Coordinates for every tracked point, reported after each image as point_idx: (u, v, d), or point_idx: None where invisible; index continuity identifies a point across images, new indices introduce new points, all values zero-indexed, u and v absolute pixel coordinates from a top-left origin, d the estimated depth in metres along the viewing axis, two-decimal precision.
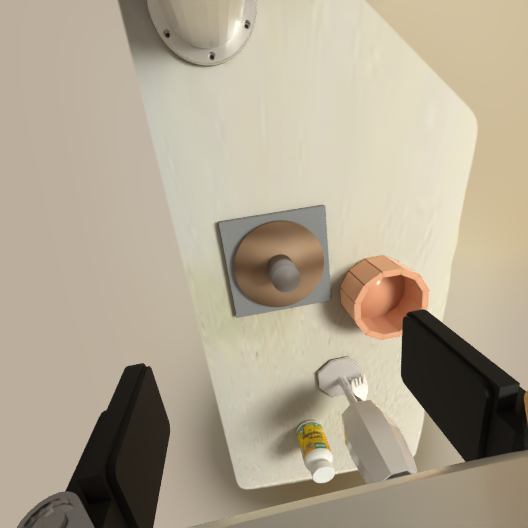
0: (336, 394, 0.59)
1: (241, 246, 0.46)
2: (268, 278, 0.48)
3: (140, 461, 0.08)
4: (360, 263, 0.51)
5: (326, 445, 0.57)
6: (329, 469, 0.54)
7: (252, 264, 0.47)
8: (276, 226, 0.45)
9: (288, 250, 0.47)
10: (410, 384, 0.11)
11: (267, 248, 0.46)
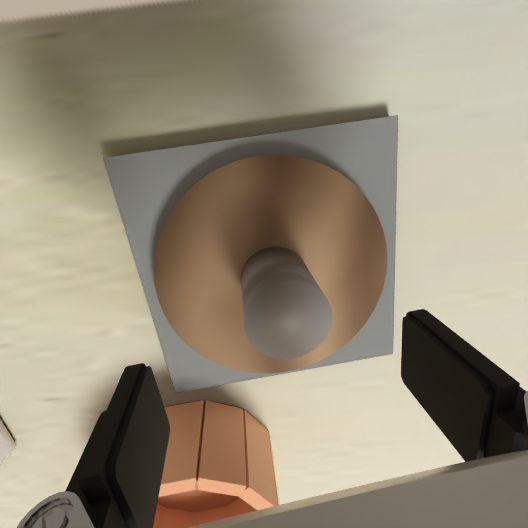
0: None
1: (338, 177, 0.17)
2: (242, 251, 0.18)
3: (140, 461, 0.08)
4: (261, 428, 0.25)
5: None
6: None
7: (285, 207, 0.17)
8: (376, 264, 0.19)
9: None
10: (410, 384, 0.11)
11: (325, 244, 0.18)
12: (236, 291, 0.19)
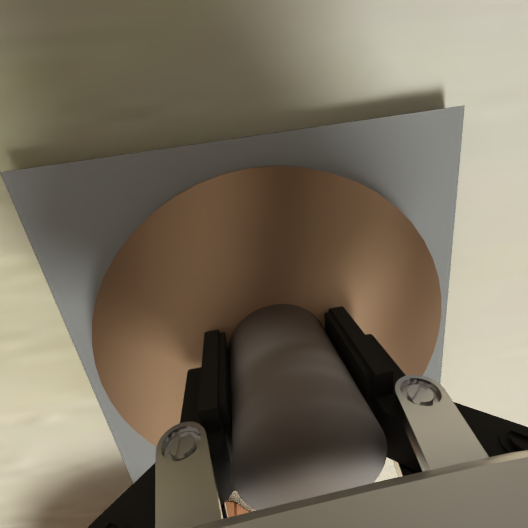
0: None
1: (376, 200, 0.11)
2: (229, 312, 0.12)
3: None
4: None
5: None
6: None
7: (294, 247, 0.11)
8: (425, 322, 0.13)
9: None
10: None
11: (354, 298, 0.12)
12: None
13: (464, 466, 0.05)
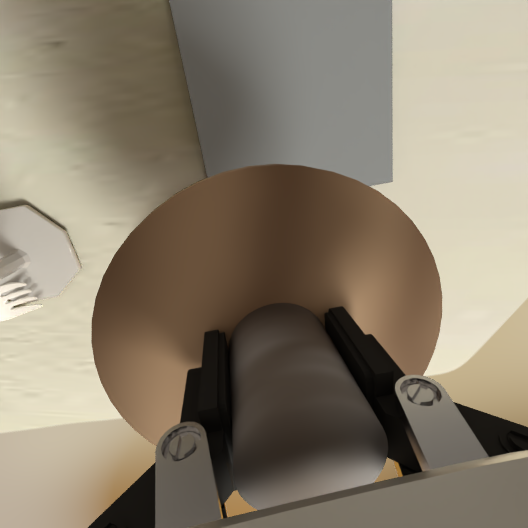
0: None
1: (377, 198, 0.11)
2: (229, 311, 0.12)
3: None
4: None
5: None
6: None
7: (295, 245, 0.11)
8: (425, 321, 0.13)
9: None
10: None
11: (354, 297, 0.12)
12: None
13: (464, 466, 0.05)
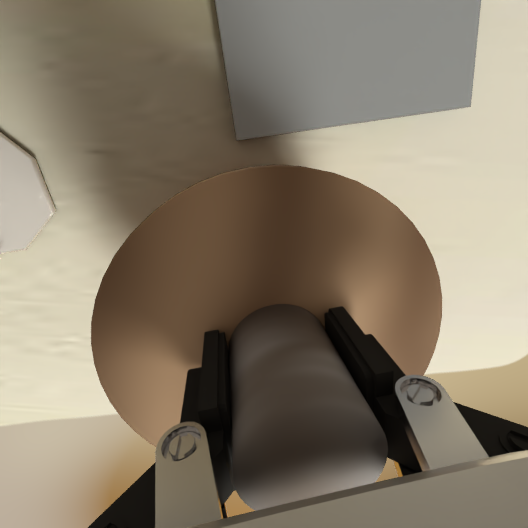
0: None
1: (377, 199, 0.11)
2: (229, 312, 0.12)
3: None
4: None
5: None
6: None
7: (294, 246, 0.11)
8: (425, 322, 0.13)
9: None
10: None
11: (354, 298, 0.12)
12: None
13: (464, 466, 0.05)
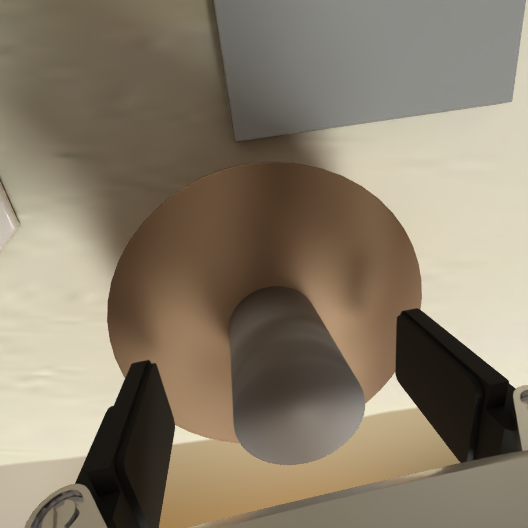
0: None
1: (361, 192, 0.12)
2: (230, 293, 0.13)
3: (147, 455, 0.08)
4: None
5: None
6: None
7: (288, 234, 0.12)
8: (407, 304, 0.14)
9: None
10: (404, 382, 0.11)
11: (342, 281, 0.14)
12: (222, 345, 0.14)
13: (464, 466, 0.05)
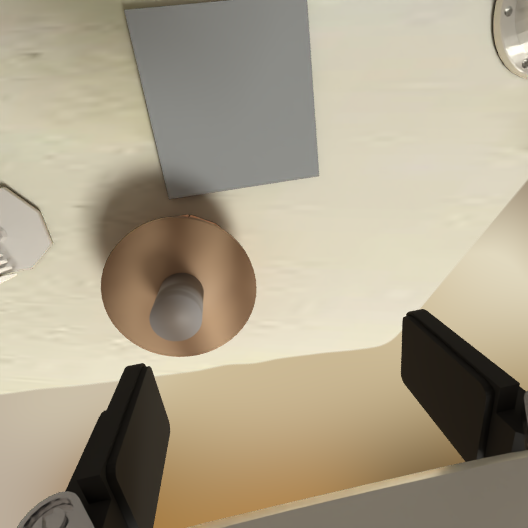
0: None
1: (216, 230, 0.28)
2: (158, 276, 0.28)
3: (140, 461, 0.08)
4: None
5: None
6: None
7: (184, 248, 0.28)
8: (248, 281, 0.30)
9: (210, 302, 0.30)
10: (410, 384, 0.11)
11: (213, 270, 0.29)
12: None
13: (464, 466, 0.05)
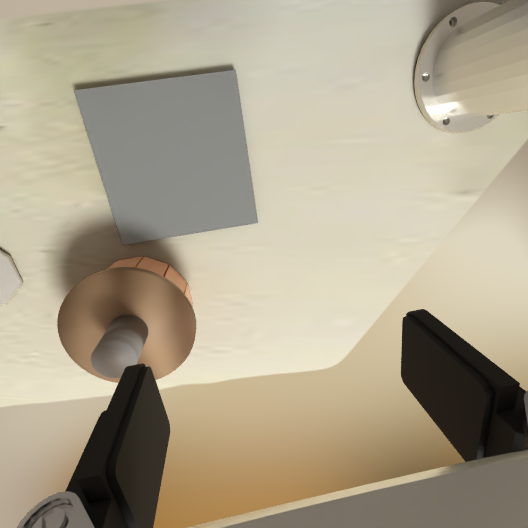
0: None
1: (155, 279, 0.32)
2: (107, 317, 0.32)
3: (140, 461, 0.08)
4: (181, 278, 0.39)
5: None
6: None
7: (128, 295, 0.32)
8: (187, 321, 0.34)
9: (155, 339, 0.34)
10: (410, 384, 0.11)
11: (155, 312, 0.33)
12: None
13: (464, 466, 0.05)
